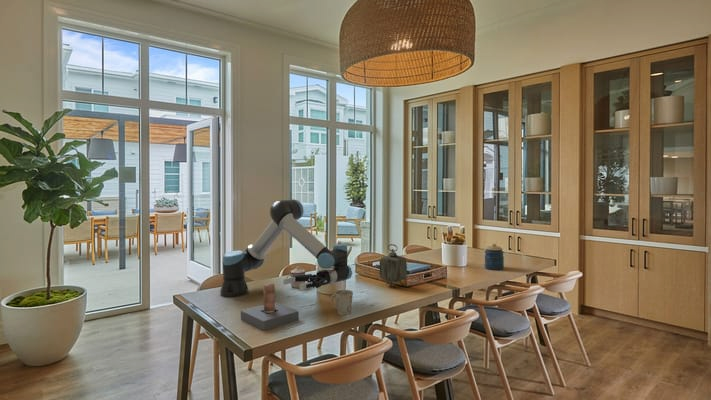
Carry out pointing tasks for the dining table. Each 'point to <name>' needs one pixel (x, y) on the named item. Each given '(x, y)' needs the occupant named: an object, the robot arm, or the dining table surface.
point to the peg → (269, 298)
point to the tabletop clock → (393, 267)
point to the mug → (343, 301)
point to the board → (269, 316)
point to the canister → (494, 258)
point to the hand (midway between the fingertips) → (291, 284)
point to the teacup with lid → (296, 272)
